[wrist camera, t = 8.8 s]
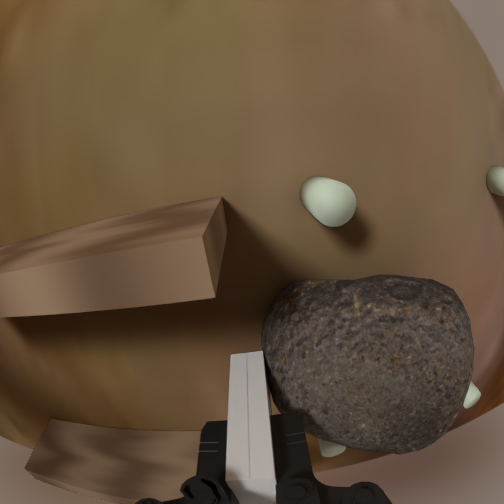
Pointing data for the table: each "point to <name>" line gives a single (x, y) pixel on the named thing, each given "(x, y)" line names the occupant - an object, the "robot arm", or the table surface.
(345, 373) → the stone
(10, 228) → the table surface
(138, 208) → the table surface
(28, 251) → the channel
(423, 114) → the table surface
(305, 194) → the zone posts
